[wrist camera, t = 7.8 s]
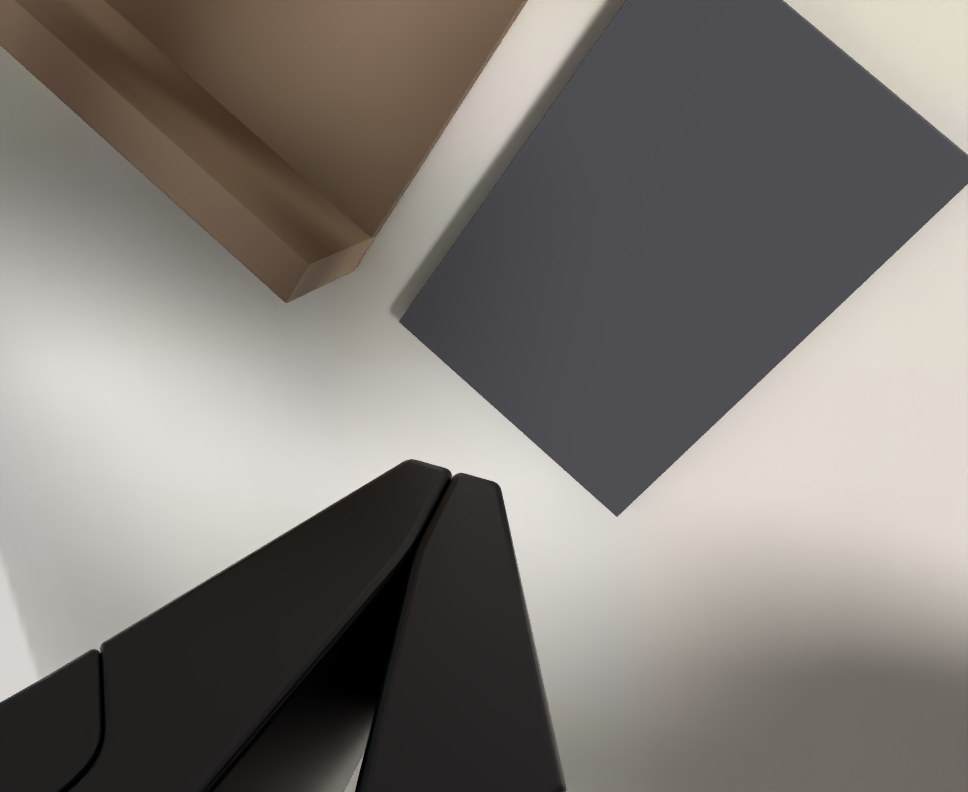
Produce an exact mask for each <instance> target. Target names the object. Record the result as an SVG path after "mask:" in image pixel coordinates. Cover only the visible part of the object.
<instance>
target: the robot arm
mask: <svg viewBox="0 0 968 792" xmlns="http://www.w3.org/2000/svg"><path fill="white" fill-rule="evenodd" d="M364 751H365V752H364ZM363 753H364V756H363V761H362V765H361V769H360V773H359V777H358V781H357V785H356V790H355V792H566V784H565V780H564V775H563V771H562V766H561V761H560V757H559V752H558V748H557V743H556V738H555V734H554V729H553V725H552V720H551V716H550V711H549V706H548V702H547V697H546V693H545V688H544V684H543V679H542V674H541V670H540V665H539V661H538V656H537V651H536V647H535V642H534V638H533V633H532V629H531V624H530V619H529V615H528V610H527V606H526V601H525V597H524V592H523V587H522V583H521V578H520V574H519V569H518V564H517V560H516V555H515V551H514V546H513V542H512V537H511V532H510V528H509V523H508V519H507V514H506V510H505V505H504V500H503V496H502V491H501V489H500V486H499V485H498V484H497V483H495V482H493V481H489V480H486V479H482V478H479V477H475V476H472V475H468V474H464V473H458V474H456V475H454V476H453V477H452V474H451V472H450V471H449V470H448V469H446V468H443V467H439V466H436V465H432V464H429V463H425V462H422V461H418V460H413V459H410V460H406V461H404V462H402V463H400V464H399V465H397V466H395V467H394V468H392V469H390V470H389V471H387V472H386V473H384V474H382V475H381V476H379V477H377V478H376V479H374V480H372V481H371V482H369V483H367V484H366V485H364V486H362V487H361V488H359V489H357V490H356V491H354V492H352V493H351V494H349V495H347V496H346V497H344V498H342V499H341V500H339V501H337V502H336V503H334V504H332V505H331V506H329V507H327V508H326V509H324V510H322V511H321V512H319V513H317V514H316V515H314V516H313V517H311V518H309V519H308V520H306V521H304V522H303V523H301V524H299V525H298V526H296V527H294V528H293V529H291V530H289V531H288V532H286V533H284V534H283V535H281V536H279V537H278V538H276V539H274V540H273V541H271V542H269V543H268V544H266V545H264V546H263V547H261V548H259V549H258V550H256V551H254V552H253V553H251V554H249V555H248V556H246V557H244V558H243V559H241V560H240V561H238V562H236V563H235V564H233V565H231V566H230V567H228V568H226V569H225V570H223V571H221V572H220V573H218V574H216V575H215V576H213V577H211V578H210V579H208V580H206V581H205V582H203V583H201V584H200V585H198V586H196V587H195V588H193V589H191V590H190V591H188V592H186V593H185V594H183V595H181V596H180V597H178V598H176V599H175V600H173V601H171V602H170V603H168V604H167V605H165V606H163V607H162V608H160V609H158V610H157V611H155V612H153V613H152V614H150V615H148V616H147V617H145V618H143V619H142V620H140V621H138V622H137V623H135V624H133V625H132V626H130V627H128V628H127V629H125V630H123V631H122V632H120V633H118V634H117V635H115V636H113V637H112V638H110V639H108V640H107V641H105V642H104V643H102V645H101V647H100V652H99V651H98V650H96V649H92V650H89V651H88V652H86V653H84V654H83V655H81V656H79V657H78V658H76V659H74V660H73V661H71V662H70V663H68V664H66V665H65V666H63V667H61V668H60V669H58V670H56V671H55V672H53V673H51V674H50V675H48V676H46V677H44V678H43V679H41V680H39V681H37V682H36V683H34V684H32V685H30V686H29V687H27V688H25V689H23V690H22V691H20V692H18V693H16V694H15V695H13V696H11V697H9V698H8V699H6V700H4V701H2V702H1V703H0V792H344V791H345V789H346V787H347V785H348V783H349V781H350V779H351V777H352V775H353V773H354V771H355V769H356V767H357V765H358V763H359V761H360V759H361V757H362V755H363Z"/></svg>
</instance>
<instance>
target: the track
mask: <svg viewBox="0 0 968 792" xmlns="http://www.w3.org/2000/svg"><path fill="white" fill-rule="evenodd" d="M527 1H528V0H0V45H1V46H2V47H3V48H4V49H5V50H6V51H7V52H9V53H10V54H11V55H12V56H13V57H14V58H15V59H16V60H17V61H19V62H20V63H21V64H22V65H23V66H24V67H25V68H26V69H27V70H28V71H30V72H31V73H32V74H33V75H34V76H35V77H36V78H37V79H38V80H40V81H41V82H42V83H43V84H44V85H45V86H46V87H47V88H48V89H50V90H51V91H52V92H53V93H54V94H55V95H56V96H57V97H58V98H59V99H61V100H62V101H63V102H64V103H65V104H66V105H67V106H68V107H69V108H71V109H72V110H73V111H74V112H75V113H76V114H77V115H78V116H79V117H81V118H82V119H83V120H84V121H85V122H86V123H87V124H88V125H89V126H90V127H92V128H93V129H94V130H95V131H96V132H97V133H98V134H99V135H100V136H102V137H103V138H104V139H105V140H106V141H107V142H108V143H109V144H110V145H112V146H113V147H114V148H115V149H116V150H117V151H118V152H119V153H120V154H121V155H123V156H124V157H125V158H126V159H127V160H128V161H129V162H130V163H131V164H133V165H134V166H135V167H136V168H137V169H138V170H139V171H140V172H141V173H143V174H144V175H145V176H146V177H147V178H148V179H149V180H150V181H151V182H153V183H154V184H155V185H156V186H157V187H158V188H159V189H160V190H161V191H162V192H164V193H165V194H166V195H167V196H168V197H169V198H170V199H171V200H172V201H174V202H175V203H176V204H177V205H178V206H179V207H180V208H181V209H182V210H184V211H185V212H186V213H187V214H188V215H189V216H190V217H191V218H192V219H193V220H195V221H196V222H197V223H198V224H199V225H200V226H201V227H202V228H203V229H205V230H206V231H207V232H208V233H209V234H210V235H211V236H212V237H213V238H215V239H216V240H217V241H218V242H219V243H220V244H221V245H222V246H223V247H224V248H226V249H227V250H228V251H229V252H230V253H231V254H232V255H233V256H234V257H236V258H237V259H238V260H239V261H240V262H241V263H242V264H243V265H244V266H246V267H247V268H248V269H249V270H250V271H251V272H252V273H253V274H254V275H255V276H257V277H258V278H259V279H260V280H261V281H262V282H263V283H264V284H265V285H267V286H268V287H269V288H270V289H271V290H272V291H273V292H274V293H275V294H277V295H278V296H279V297H280V298H281V299H282V300H283V301H284V302H285V303H287V302H289V301H292V300H294V299H296V298H298V297H300V296H302V295H304V294H306V293H308V292H310V291H312V290H315V289H317V288H319V287H321V286H323V285H325V284H327V283H329V282H331V281H333V280H336V279H338V278H340V277H342V276H344V275H346V274H348V273H350V272H352V271H354V270H355V268H356V266H357V265H358V263H359V262H360V260H361V259H362V257H363V256H364V254H365V252H366V251H367V249H368V248H369V246H370V245H371V243H372V242H373V240H374V238H375V237H376V235H377V234H378V232H379V231H380V229H381V228H382V226H383V224H384V223H385V221H386V220H387V218H388V217H389V215H390V214H391V212H392V210H393V209H394V207H395V206H396V204H397V203H398V201H399V200H400V198H401V196H402V195H403V193H404V192H405V190H406V189H407V187H408V186H409V184H410V182H411V181H412V179H413V178H414V176H415V175H416V173H417V172H418V170H419V168H420V167H421V165H422V164H423V162H424V161H425V159H426V158H427V156H428V154H429V153H430V151H431V150H432V148H433V147H434V145H435V144H436V142H437V140H438V139H439V137H440V136H441V134H442V133H443V131H444V130H445V128H446V126H447V125H448V123H449V122H450V120H451V119H452V117H453V116H454V114H455V112H456V111H457V109H458V108H459V106H460V105H461V103H462V102H463V100H464V98H465V97H466V95H467V94H468V92H469V91H470V89H471V88H472V86H473V85H474V83H475V81H476V80H477V78H478V77H479V75H480V74H481V72H482V71H483V69H484V67H485V66H486V64H487V63H488V61H489V60H490V58H491V57H492V55H493V53H494V52H495V50H496V49H497V47H498V46H499V44H500V43H501V41H502V39H503V38H504V36H505V35H506V33H507V32H508V30H509V29H510V27H511V25H512V24H513V22H514V21H515V19H516V18H517V16H518V15H519V13H520V11H521V10H522V8H523V7H524V5H525V4H526V2H527Z"/></svg>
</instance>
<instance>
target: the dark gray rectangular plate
mask: <svg viewBox="0 0 968 792" xmlns="http://www.w3.org/2000/svg"><path fill="white" fill-rule="evenodd" d="M967 184H968V155H967V154H966V153H965V152H964V151H962V150H961V149H960V148H959V147H958V146H956V145H955V144H954V143H953V142H952V141H950V140H949V139H948V138H947V137H946V136H944V135H943V134H942V133H941V132H940V131H938V130H937V129H936V128H935V127H934V126H933V125H931V124H930V123H929V122H928V121H927V120H925V119H924V118H923V117H922V116H921V115H919V114H918V113H917V112H916V111H915V110H913V109H912V108H911V107H910V106H909V105H907V104H906V103H905V102H904V101H903V100H901V99H900V98H899V97H898V96H897V95H895V94H894V93H893V92H892V91H891V90H889V89H888V88H887V87H886V86H885V85H883V84H882V83H881V82H880V81H879V80H877V79H876V78H875V77H874V76H873V75H872V74H870V73H869V72H868V71H867V70H866V69H864V68H863V67H862V66H861V65H860V64H858V63H857V62H856V61H855V60H854V59H852V58H851V57H850V56H849V55H848V54H846V53H845V52H844V51H843V50H842V49H840V48H839V47H838V46H837V45H836V44H834V43H833V42H832V41H831V40H830V39H828V38H827V37H826V36H825V35H824V34H822V33H821V32H820V31H819V30H818V29H816V28H815V27H814V26H813V25H812V24H811V23H809V22H808V21H807V20H806V19H805V18H803V17H802V16H801V15H800V14H799V13H797V12H796V11H795V10H794V9H793V8H791V7H790V6H789V5H788V4H787V3H785V2H784V1H783V0H626V2H625V3H624V4H623V6H622V7H621V9H620V10H619V11H618V13H617V14H616V16H615V17H614V18H613V20H612V21H611V23H610V24H609V26H608V27H607V28H606V30H605V31H604V33H603V34H602V35H601V37H600V38H599V40H598V41H597V43H596V44H595V45H594V47H593V48H592V50H591V51H590V52H589V54H588V55H587V57H586V58H585V60H584V61H583V62H582V64H581V65H580V67H579V68H578V69H577V71H576V72H575V74H574V75H573V76H572V78H571V79H570V81H569V82H568V84H567V85H566V86H565V88H564V89H563V91H562V92H561V93H560V95H559V96H558V98H557V99H556V101H555V102H554V103H553V105H552V106H551V108H550V109H549V110H548V112H547V113H546V115H545V116H544V117H543V119H542V120H541V122H540V123H539V125H538V126H537V127H536V129H535V130H534V132H533V133H532V134H531V136H530V137H529V139H528V140H527V142H526V143H525V144H524V146H523V147H522V149H521V150H520V151H519V153H518V154H517V156H516V157H515V158H514V160H513V161H512V163H511V164H510V166H509V167H508V168H507V170H506V171H505V173H504V174H503V175H502V177H501V178H500V180H499V181H498V183H497V184H496V185H495V187H494V188H493V190H492V191H491V192H490V194H489V195H488V197H487V198H486V200H485V201H484V202H483V204H482V205H481V207H480V208H479V209H478V211H477V212H476V214H475V215H474V216H473V218H472V219H471V221H470V222H469V224H468V225H467V226H466V228H465V229H464V231H463V232H462V233H461V235H460V236H459V238H458V239H457V241H456V242H455V243H454V245H453V246H452V248H451V249H450V250H449V252H448V253H447V255H446V256H445V257H444V259H443V260H442V262H441V263H440V265H439V266H438V267H437V269H436V270H435V272H434V273H433V274H432V276H431V277H430V279H429V280H428V282H427V283H426V284H425V286H424V287H423V289H422V290H421V291H420V293H419V294H418V296H417V297H416V299H415V300H414V301H413V303H412V304H411V306H410V307H409V308H408V310H407V311H406V313H405V314H404V315H403V317H402V318H401V320H400V321H399V322H400V323H401V324H402V325H403V326H404V327H405V328H407V329H408V330H409V331H410V332H411V333H412V334H413V335H414V336H416V337H417V338H418V339H419V340H420V341H421V342H422V343H423V344H424V345H426V346H427V347H428V348H429V349H430V350H431V351H432V352H433V353H434V354H436V355H437V356H438V357H439V358H440V359H441V360H442V361H443V362H445V363H446V364H447V365H448V366H449V367H450V368H451V369H452V370H453V371H455V372H456V373H457V374H458V375H459V376H460V377H461V378H462V379H464V380H465V381H466V382H467V383H468V384H469V385H470V386H471V387H472V388H474V389H475V390H476V391H477V392H478V393H479V394H480V395H481V396H483V397H484V398H485V399H486V400H487V401H488V402H489V403H490V404H491V405H493V406H494V407H495V408H496V409H497V410H498V411H499V412H500V413H502V414H503V415H504V416H505V417H506V418H507V419H508V420H509V421H510V422H512V423H513V424H514V425H515V426H516V427H517V428H518V429H519V430H520V431H522V432H523V433H524V434H525V435H526V436H527V437H528V438H529V439H531V440H532V441H533V442H534V443H535V444H536V445H537V446H538V447H539V448H541V449H542V450H543V451H544V452H545V453H546V454H547V455H548V456H550V457H551V458H552V459H553V460H554V461H555V462H556V463H557V464H558V465H560V466H561V467H562V468H563V469H564V470H565V471H566V472H567V473H569V474H570V475H571V476H572V477H573V478H574V479H575V480H576V481H577V482H579V483H580V484H581V485H582V486H583V487H584V488H585V489H586V490H587V491H589V492H590V493H591V494H592V495H593V496H594V497H595V498H596V499H598V500H599V501H600V502H601V503H602V504H603V505H604V506H605V507H606V508H608V509H609V510H610V511H611V512H612V513H613V514H614V515H615V516H618V515H619V514H621V513H622V512H623V511H624V510H625V509H626V508H627V507H628V506H629V505H630V504H631V503H632V502H633V501H634V500H635V499H636V498H637V497H638V496H639V495H641V494H642V493H643V492H644V491H645V490H646V489H647V488H648V487H649V486H650V485H651V484H652V483H653V482H654V481H655V480H656V479H657V478H658V477H659V476H661V475H662V474H663V473H664V472H665V471H666V470H667V469H668V468H669V467H670V466H671V465H672V464H673V463H674V462H675V461H676V460H677V459H678V458H679V457H681V456H682V455H683V454H684V453H685V452H686V451H687V450H688V449H689V448H690V447H691V446H692V445H693V444H694V443H695V442H696V441H697V440H698V439H699V438H701V437H702V436H703V435H704V434H705V433H706V432H707V431H708V430H709V429H710V428H711V427H712V426H713V425H714V424H715V423H716V422H717V421H718V420H720V419H721V418H722V417H723V416H724V415H725V414H726V413H727V412H728V411H729V410H730V409H731V408H732V407H733V406H734V405H735V404H736V403H737V402H738V401H740V400H741V399H742V398H743V397H744V396H745V395H746V394H747V393H748V392H749V391H750V390H751V389H752V388H753V387H754V386H755V385H756V384H757V383H758V382H760V381H761V380H762V379H763V378H764V377H765V376H766V375H767V374H768V373H769V372H770V371H771V370H772V369H773V368H774V367H775V366H776V365H777V364H778V363H780V362H781V361H782V360H783V359H784V358H785V357H786V356H787V355H788V354H789V353H790V352H791V351H792V350H793V349H794V348H795V347H796V346H797V345H798V344H800V343H801V342H802V341H803V340H804V339H805V338H806V337H807V336H808V335H809V334H810V333H811V332H812V331H813V330H814V329H815V328H816V327H817V326H818V325H820V324H821V323H822V322H823V321H824V320H825V319H826V318H827V317H828V316H829V315H830V314H831V313H832V312H833V311H834V310H835V309H836V308H837V307H838V306H840V305H841V304H842V303H843V302H844V301H845V300H846V299H847V298H848V297H849V296H850V295H851V294H852V293H853V292H854V291H855V290H856V289H857V288H859V287H860V286H861V285H862V284H863V283H864V282H865V281H866V280H867V279H868V278H869V277H870V276H871V275H872V274H873V273H874V272H875V271H876V270H877V269H879V268H880V267H881V266H882V265H883V264H884V263H885V262H886V261H887V260H888V259H889V258H890V257H891V256H892V255H893V254H894V253H895V252H896V251H897V250H899V249H900V248H901V247H902V246H903V245H904V244H905V243H906V242H907V241H908V240H909V239H910V238H911V237H912V236H913V235H914V234H915V233H916V232H917V231H919V230H920V229H921V228H922V227H923V226H924V225H925V224H926V223H927V222H928V221H929V220H930V219H931V218H932V217H933V216H934V215H935V214H936V213H937V212H939V211H940V210H941V209H942V208H943V207H944V206H945V205H946V204H947V203H948V202H949V201H950V200H951V199H952V198H953V197H954V196H955V195H956V194H957V193H959V192H960V191H961V190H962V189H963V188H964V187H965V186H966V185H967Z"/></svg>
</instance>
